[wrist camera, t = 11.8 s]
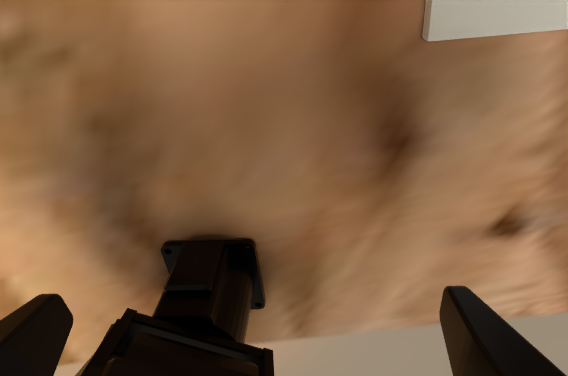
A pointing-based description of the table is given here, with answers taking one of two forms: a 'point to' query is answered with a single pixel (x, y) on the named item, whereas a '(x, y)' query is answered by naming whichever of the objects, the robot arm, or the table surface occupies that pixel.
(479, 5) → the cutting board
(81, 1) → the table surface
